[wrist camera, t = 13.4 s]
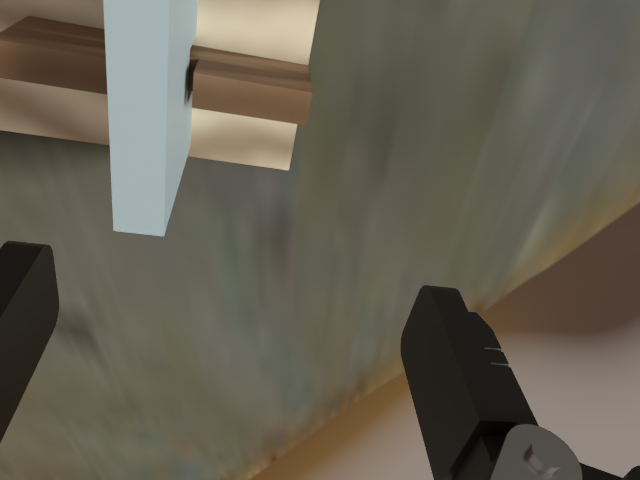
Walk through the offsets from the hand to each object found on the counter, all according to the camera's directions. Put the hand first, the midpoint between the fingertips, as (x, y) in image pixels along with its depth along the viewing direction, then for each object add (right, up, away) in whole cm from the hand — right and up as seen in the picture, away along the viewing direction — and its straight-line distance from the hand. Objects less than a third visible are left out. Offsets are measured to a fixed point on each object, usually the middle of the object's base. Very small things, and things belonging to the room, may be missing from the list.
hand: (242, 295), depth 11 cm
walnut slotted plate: (-9, +15, +27) cm, 32 cm away
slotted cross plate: (-9, +15, +27) cm, 32 cm away
